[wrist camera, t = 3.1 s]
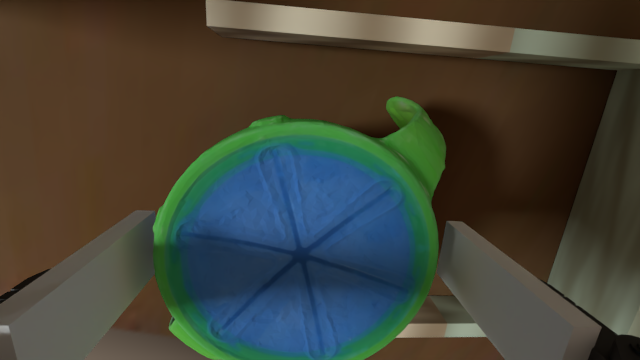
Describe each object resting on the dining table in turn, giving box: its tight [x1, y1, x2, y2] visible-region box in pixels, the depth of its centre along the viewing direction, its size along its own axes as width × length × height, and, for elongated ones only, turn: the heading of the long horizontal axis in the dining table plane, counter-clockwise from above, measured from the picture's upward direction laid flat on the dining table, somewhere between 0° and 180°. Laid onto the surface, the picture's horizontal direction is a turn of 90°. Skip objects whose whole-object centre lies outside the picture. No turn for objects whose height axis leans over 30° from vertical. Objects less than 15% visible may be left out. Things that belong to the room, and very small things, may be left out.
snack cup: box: [153, 96, 446, 360], centre depth 16 cm, size 16×10×10 cm
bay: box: [206, 0, 640, 338], centre depth 18 cm, size 27×20×6 cm
